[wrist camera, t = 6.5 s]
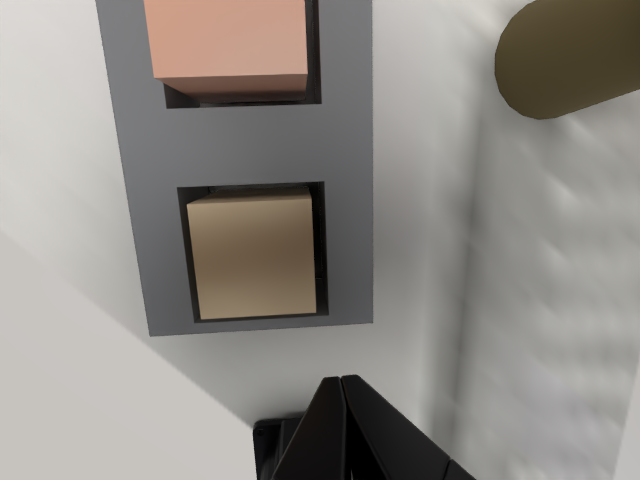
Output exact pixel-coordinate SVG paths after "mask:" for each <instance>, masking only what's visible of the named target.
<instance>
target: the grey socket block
mask: <svg viewBox="0 0 640 480" xmlns="http://www.w3.org/2000/svg"><path fill="white" fill-rule="evenodd" d="M95 1H96V7H97V13H98V19H99V25H100V32H101V38H102V44H103V50H104V56H105V63H106V69H107V75H108V81H109V87H110V94H111V100H112V106H113V112H114V118H115V124H116V131H117V137H118V143H119V149H120V155H121V162H122V168H123V174H124V180H125V186H126V193H127V199H128V205H129V211H130V217H131V224H132V230H133V236H134V242H135V248H136V254H137V261H138V267H139V273H140V279H141V285H142V292H143V298H144V304H145V310H146V316H147V323H148V329H149V335H150V337H152V336H168V335H185V334H201V333H218V332H234V331H251V330H267V329H284V328H300V327H317V326H333V325H350V324H366V323H373V124H372V0H312V23H313V49H314V76H315V103H316V104H308V105H276V106H244V107H212V108H199V101H197V100H195V99H193V98H191V97H189V96H187V95H185V94H184V93H182V92H180V91H178V90H176V89H174V88H172V87H170V86H168V85H167V84H165V83H163V82H161V81H159V80H157V79H155V78H154V74H153V66H152V59H151V51H150V44H149V36H148V29H147V22H146V14H145V7H144V0H95ZM317 181H318V183H319V209H320V236H321V263H322V279H315V295H316V313H300V314H283V315H266V316H249V317H232V318H215V319H201V315H200V307H199V299H198V291H197V283H196V275H195V267H194V259H193V251H192V243H191V235H190V226H189V218H188V210H187V204H189V203H191V202H193V201H196V200H198V199H200V198H202V197H205V196H207V195H209V191H208V186H221V185H245V184H269V183H293V182H317Z"/></svg>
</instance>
